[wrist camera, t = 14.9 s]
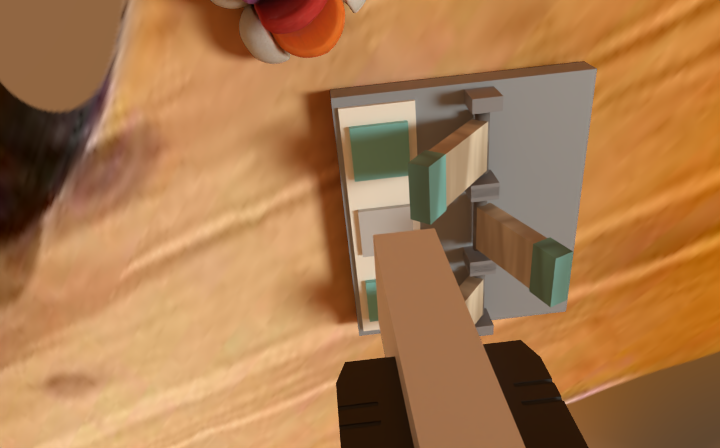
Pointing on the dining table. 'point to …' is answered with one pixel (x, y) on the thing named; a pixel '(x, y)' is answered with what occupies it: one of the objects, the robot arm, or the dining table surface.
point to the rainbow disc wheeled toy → (290, 26)
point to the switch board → (499, 186)
